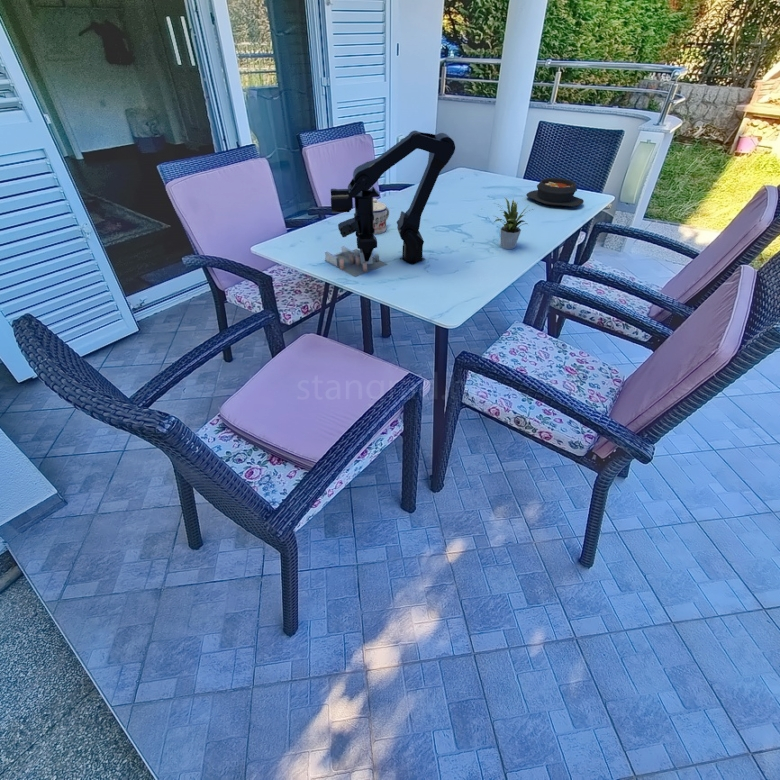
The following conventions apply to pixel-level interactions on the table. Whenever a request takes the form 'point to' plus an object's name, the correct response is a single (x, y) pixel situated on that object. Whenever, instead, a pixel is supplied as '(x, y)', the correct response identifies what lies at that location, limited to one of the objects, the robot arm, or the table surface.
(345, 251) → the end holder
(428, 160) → the robot arm
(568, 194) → the casserole
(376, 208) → the teacup with lid
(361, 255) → the block
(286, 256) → the table surface
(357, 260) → the pegs
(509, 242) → the house plant
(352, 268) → the mat
